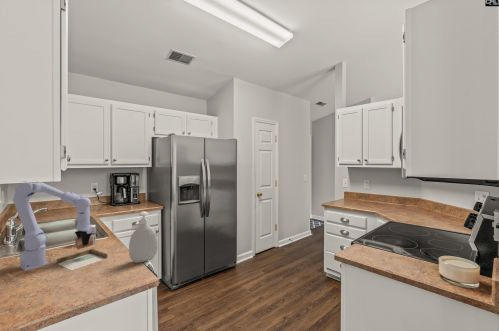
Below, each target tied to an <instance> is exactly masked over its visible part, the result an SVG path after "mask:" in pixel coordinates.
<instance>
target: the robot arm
mask: <svg viewBox="0 0 499 331" xmlns="http://www.w3.org/2000/svg"><path fill="white" fill-rule="evenodd" d="M36 193H46V194H48V195H51V196H54V197H56V198H57V197H58V198H60V200H61V201H62V202H64V203H67V204H69V205H71V206H74V207H75V208H76V210H77V211H76V212H77V213H76V226H75V230H76V231H74V233H75V235H76V238H80V237H81V238H82V244H83V246H85V245H88V242H89V239H90V236H91V235H92V229H91V228H92V226H90V225H91V210H90V207H91V204H92V201H91V199H90V198H89V197H88V196H87V197H86V196H83V195H78V194H76V193H75V192H74V191H65V192H64V191H62V190H60V189H58V188H55V187H54V186H52V185H48V184H47V183H46V182H41V181H38V183H21V182H20V183H19V184H17V186H16V187H14V194H13V195H14V196H13V198H12V201H13V204H14V207H15V209H16V212H17V214H18V216H19V219H20V223H21V225H22V227H23V229H24V236H23V239H24V243H23V245H24V248H25V249H26V250H24V251H21V252H20V255H19V268H20V269H22V270H24V271H30V270H33V269H36V268H40V267H43V266H46V265H49V264H50V262H48V261H46V259H47V257H46V252H47V251H46V249H47V248H46V247H47V246H46V243H47V242H48V239H49V237H48V236H47V234H46V233H44V230H43V229H42V228H40V227H39V224H38V222H37V218H36V216H35V214H34V211H33V209H32V206H31V203H30V199H31V198H32V197H33V196H34V195H35V194H36Z"/></svg>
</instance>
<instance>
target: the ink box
mask: <svg viewBox="0 0 499 331" xmlns="http://www.w3.org/2000/svg"><path fill="white" fill-rule="evenodd" d="M90 226H92V228H91V229H92V235H91V236H93V245H96V244H97V242H96V241H97V240H96V239H97V238H96V237H97V235H96V233H97V232H96V231H97V230H96V228H97V227H96V226H97V225H96V224H90Z"/></svg>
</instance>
